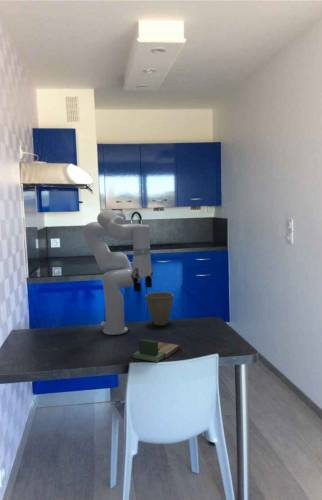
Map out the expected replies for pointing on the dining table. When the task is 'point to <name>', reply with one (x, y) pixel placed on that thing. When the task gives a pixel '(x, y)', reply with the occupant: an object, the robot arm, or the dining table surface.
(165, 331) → the dining table surface
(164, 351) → the notched brown wooden block
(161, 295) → the plant pot
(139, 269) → the robot arm
